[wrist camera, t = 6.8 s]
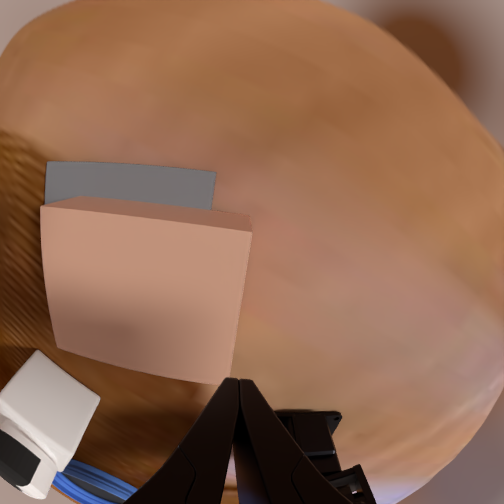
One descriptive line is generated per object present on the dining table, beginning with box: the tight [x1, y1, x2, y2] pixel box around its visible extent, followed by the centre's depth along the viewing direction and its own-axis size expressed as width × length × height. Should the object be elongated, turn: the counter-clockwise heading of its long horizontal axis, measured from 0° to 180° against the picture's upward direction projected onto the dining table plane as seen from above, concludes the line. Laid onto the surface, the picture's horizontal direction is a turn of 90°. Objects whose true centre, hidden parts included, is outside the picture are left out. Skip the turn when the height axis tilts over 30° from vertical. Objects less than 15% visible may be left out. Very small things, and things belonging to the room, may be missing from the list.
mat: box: [45, 161, 216, 210], centre depth 15 cm, size 12×11×1 cm
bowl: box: [52, 459, 138, 504], centre depth 24 cm, size 18×18×4 cm
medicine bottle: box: [0, 350, 100, 499], centre depth 13 cm, size 7×7×12 cm
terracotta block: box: [40, 196, 253, 385], centre depth 13 cm, size 8×4×10 cm
